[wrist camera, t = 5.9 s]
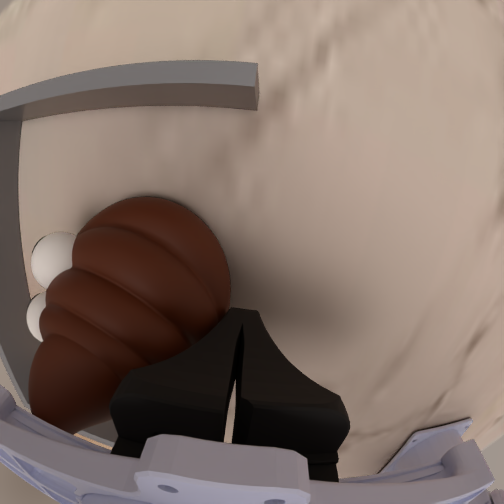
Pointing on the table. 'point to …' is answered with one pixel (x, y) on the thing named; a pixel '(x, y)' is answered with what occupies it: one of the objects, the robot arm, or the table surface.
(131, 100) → the bin
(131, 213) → the poop emoji
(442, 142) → the table surface
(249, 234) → the table surface
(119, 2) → the table surface
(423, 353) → the table surface
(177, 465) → the robot arm
